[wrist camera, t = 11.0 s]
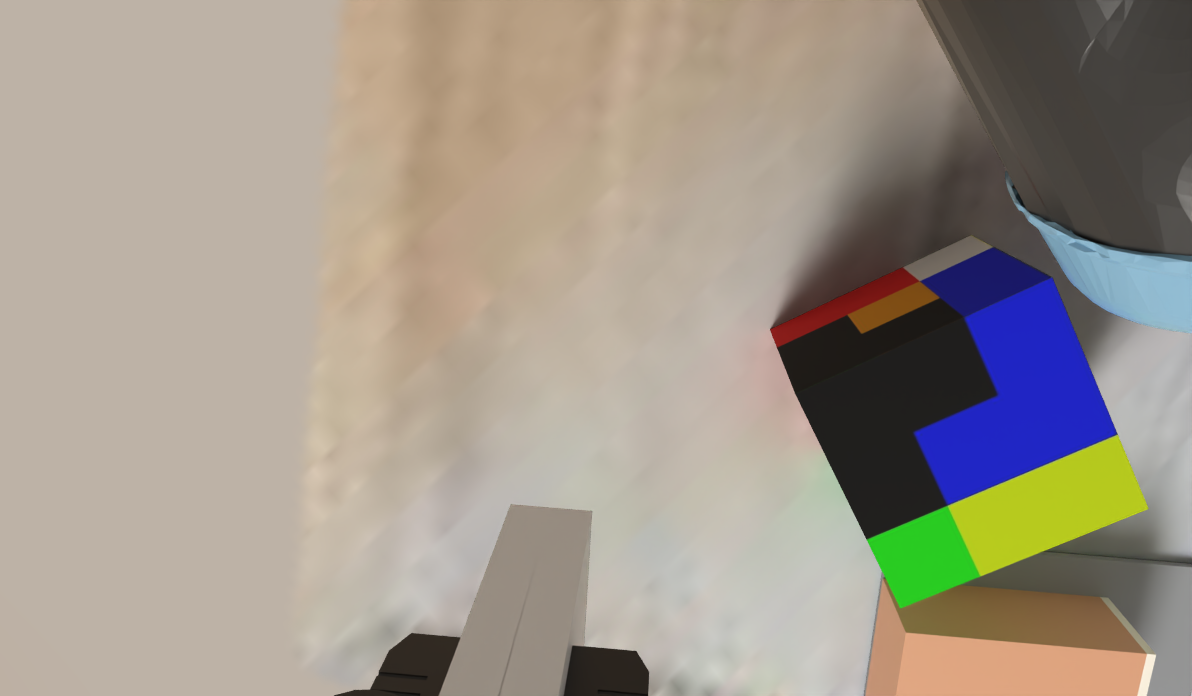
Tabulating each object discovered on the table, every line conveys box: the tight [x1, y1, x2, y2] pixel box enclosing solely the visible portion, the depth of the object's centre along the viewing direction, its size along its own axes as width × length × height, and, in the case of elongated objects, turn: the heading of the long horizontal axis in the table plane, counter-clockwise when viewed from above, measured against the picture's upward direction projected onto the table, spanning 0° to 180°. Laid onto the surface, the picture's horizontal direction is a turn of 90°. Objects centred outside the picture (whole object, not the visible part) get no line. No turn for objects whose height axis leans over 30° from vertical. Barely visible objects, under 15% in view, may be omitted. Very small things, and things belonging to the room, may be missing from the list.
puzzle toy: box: [770, 235, 1148, 609], centre depth 42 cm, size 10×10×10 cm
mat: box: [864, 552, 1192, 696], centre depth 50 cm, size 11×16×1 cm
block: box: [865, 579, 1156, 696], centre depth 47 cm, size 7×5×11 cm
